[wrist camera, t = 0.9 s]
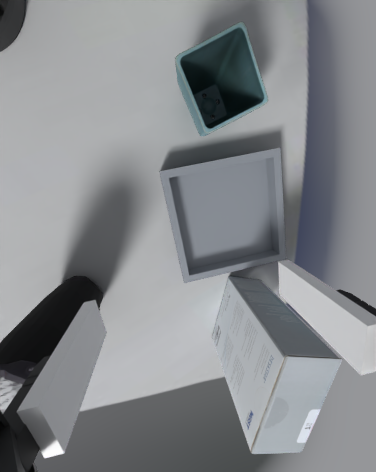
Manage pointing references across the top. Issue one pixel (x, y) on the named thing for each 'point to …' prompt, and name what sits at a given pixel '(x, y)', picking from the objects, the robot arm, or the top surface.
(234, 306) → the hard drive box
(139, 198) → the top surface
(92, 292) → the portable speaker
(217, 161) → the tray
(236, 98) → the flower pot
